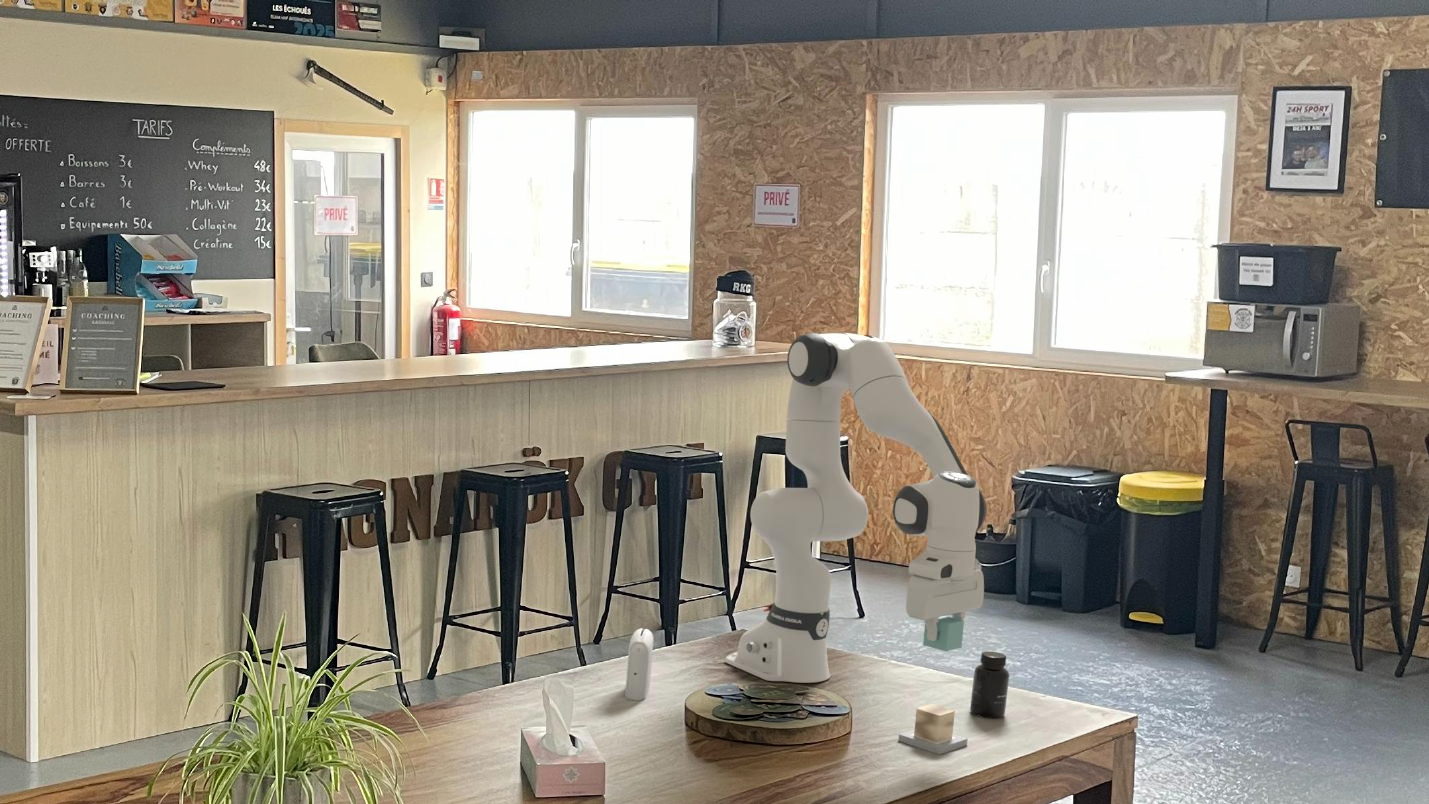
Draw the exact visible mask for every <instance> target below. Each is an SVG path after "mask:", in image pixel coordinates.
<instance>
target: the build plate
mask: <svg viewBox="0 0 1429 804" xmlns="http://www.w3.org/2000/svg"><path fill="white" fill-rule="evenodd" d="M914 731H915V728H914V729H911V730H907V731H905V732H902V733H899V734H898V742H901V743H905V744H907V745H910V746H913V747H916V748H919V749H922V750H926V751H928V752H930V753H931V752H932V753H935V754H937V755H942V754H945V753H948V752H951V751H953V750H956V749H959V748H962V747H966V746H968V738H967V737H963V736H962V735H961V736H960V735H958V734H954V733H953V734H952V738H949V739H946V740H943V741H940V742H934V741H931V740H928V739H925V738H922V737H919V736H916V735H914Z"/></svg>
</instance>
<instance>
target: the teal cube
mask: <svg viewBox="0 0 1429 804" xmlns="http://www.w3.org/2000/svg"><path fill="white" fill-rule="evenodd" d="M936 624H937V630H938V631H940V635H939V640H936V641H931V640H928V639H927V628H926V625H925V624H924V632H923V634H924V635H923V644H922V645H923V646H924V647H928V648H933V649H935V650H940V651H943V652H949V651H952V650H953V651H954V650H957V649H961V648H962V647H963V646H962V645H963V634H964V624H965V620H964V619H963V620H959V619H955V618H952V616H951V617H950V616H948V615H946V616H941V617H939V619H938V623H936Z"/></svg>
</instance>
